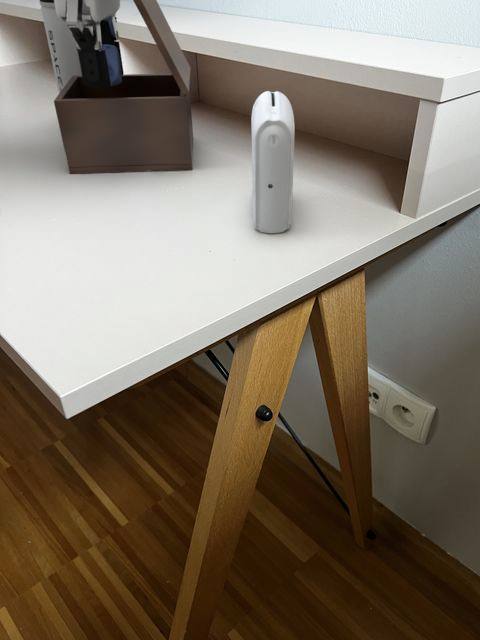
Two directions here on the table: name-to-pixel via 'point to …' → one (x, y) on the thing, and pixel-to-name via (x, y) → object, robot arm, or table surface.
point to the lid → (165, 42)
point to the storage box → (126, 125)
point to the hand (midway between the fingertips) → (104, 79)
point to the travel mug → (61, 44)
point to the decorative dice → (113, 64)
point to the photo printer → (272, 162)
